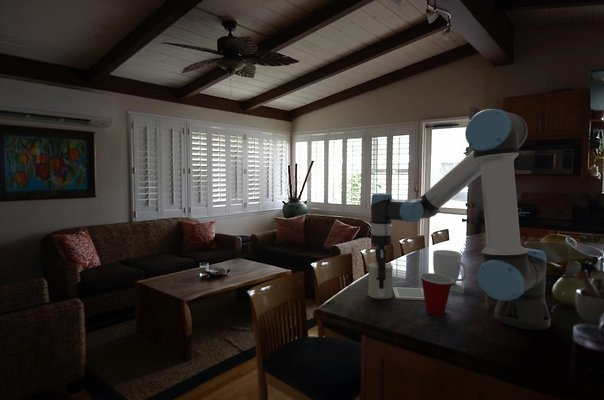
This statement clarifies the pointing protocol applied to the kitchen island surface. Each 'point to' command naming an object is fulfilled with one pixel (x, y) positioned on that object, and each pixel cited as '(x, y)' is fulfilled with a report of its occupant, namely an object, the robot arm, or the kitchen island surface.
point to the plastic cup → (436, 292)
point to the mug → (448, 264)
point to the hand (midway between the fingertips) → (380, 292)
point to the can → (373, 282)
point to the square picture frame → (409, 293)
